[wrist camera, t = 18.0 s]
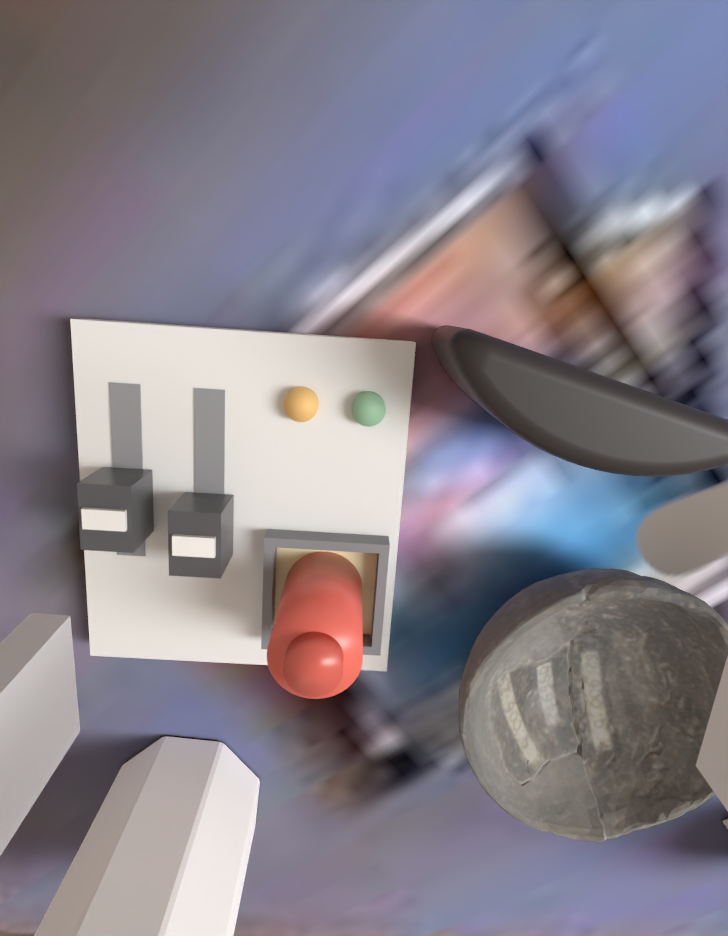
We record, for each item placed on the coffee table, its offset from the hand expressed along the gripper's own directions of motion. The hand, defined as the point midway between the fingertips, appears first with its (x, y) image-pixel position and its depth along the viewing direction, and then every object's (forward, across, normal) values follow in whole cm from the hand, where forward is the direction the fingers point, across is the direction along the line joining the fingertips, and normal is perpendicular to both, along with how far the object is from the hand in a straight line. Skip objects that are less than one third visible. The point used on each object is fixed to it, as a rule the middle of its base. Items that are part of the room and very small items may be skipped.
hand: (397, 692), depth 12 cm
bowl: (+27, +15, -16) cm, 35 cm away
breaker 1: (+24, -15, -6) cm, 29 cm away
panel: (+26, -8, -6) cm, 28 cm away
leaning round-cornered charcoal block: (+27, +11, +3) cm, 29 cm away
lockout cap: (+24, -2, -11) cm, 27 cm away
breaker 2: (+24, -10, -7) cm, 27 cm away
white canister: (+26, -12, -30) cm, 41 cm away
